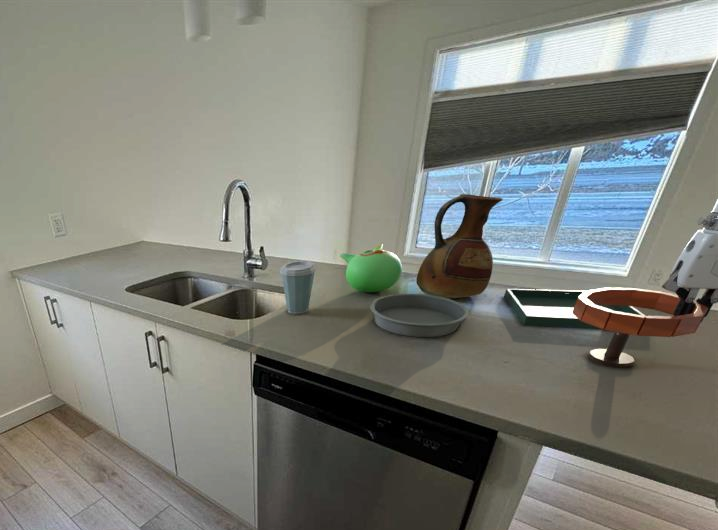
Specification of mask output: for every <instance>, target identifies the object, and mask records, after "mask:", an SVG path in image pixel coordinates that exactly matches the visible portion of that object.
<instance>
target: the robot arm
mask: <svg viewBox="0 0 718 530" xmlns="http://www.w3.org/2000/svg"><path fill="white" fill-rule="evenodd" d="M711 210H712V211H710V212H709V214H708V215H707V216H702V217H699V218H698V220H697V222H696V223H697V225H698V226H703V228H702V229H698V230H697V231H696V232H695V233H694V234H693V236H692V237H691V239H690V240H689V241H688V242H687V244H686V246H685V247H684V248H683V250H682V251H681V253H680V255H678V256H679V257H678V258H677V259H676V262H675V263H674V265H673V267H672V269H671V271H670V274H669V278H668V279H667V280H665V282H664V283H662V285H661V288H662V289H664V290H666V291H669V292H672V293H673V294H675V295H678V297H679V298H680V301H679V303H678V305H677V307H676V309H675V311H674V315H673V316H674V317H675V316H681V315H687V314H691V313H692V311H693V309H694V307H695V306H696V303H694V300H696V301H697V302H699V303H701V304H703V305H704V306H706V307H708V310H707V312H706V314H705V316H704V317H703V319H702V321H701V323H702V322H703V321H704V319H705V318H706V317H707V316H708V314H709V312H710V311H711V309H712V307H713V305H714V304H718V199H717V200H716V202H715V204H714V206H713V208H712V209H711ZM700 290H705V291H704V292H703V294H702V295H701V297H700V298H699V297H698V295H699V292H700ZM697 297H698V298H697Z"/></svg>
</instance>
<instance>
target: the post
mask: <svg viewBox="0 0 718 530" xmlns="http://www.w3.org/2000/svg"><path fill="white" fill-rule="evenodd" d="M630 336H631V334H626V333H620V332H615V331H614V333H613V335H612V337H611V339H610V342H609V344H608V346H607V348H595V349H592V350H590V352H589V354H588V356H587V357H588V358H589V360H591V361H592V362H594V363H596V364H598V365H602V366H606V367H611V368H620V369H623V368H625V369H626V368H630V367H631V366H633V365H634V363H635V358H634V357H633V356H632V355H630V354H628V353H627V352H623V351H624V348H625V347H626V344H627V342H628V340H629V338H630Z"/></svg>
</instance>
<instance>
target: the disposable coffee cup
mask: <svg viewBox="0 0 718 530" xmlns="http://www.w3.org/2000/svg"><path fill="white" fill-rule="evenodd" d="M315 273H316V267H315V264H314V262H313V261H310V260H301V259H300V260H294V261H290V262H287V263H285V264H284V265H282V266H281V268H280V274H281V279H282V286H283V291H284V299H285V304H286V311H287V312H288V313H289V314H293V315H298V314H300V315H301V314H306V313H307V312H308V310H309V306H310V301H311V296H312V289H313V284H314V277H315Z"/></svg>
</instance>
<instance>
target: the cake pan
mask: <svg viewBox="0 0 718 530" xmlns="http://www.w3.org/2000/svg"><path fill="white" fill-rule="evenodd" d="M370 310H371V311H372V313H373V315H374V316H373V317H374V322H375V324H376V325H377V326H378V327H379V328H381V329H382V330H385V331H387V332H390V333H393V334H396V335H400V336H406V337H412V338H413V337H414V338H435V337H442V336H446V335H449V334H450V335H451V334H452V333H453V332H455V331H456V330H457V329H458V328H459V326H460V324H461V323H462V322H463V321H464V320H467V318H468V317H469V315H470V312H469V309H468V308H467V307H466V306H465V305H463V304H462V303H460V302H458V301H456V300H453V299H447V298H443V297H439V296H433V295H429V294H426V293H425V294H423V293H396V294H390V295H385V296H382V297H379V298H376V299H375V300H374V301H372V302H371V304H370Z"/></svg>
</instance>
